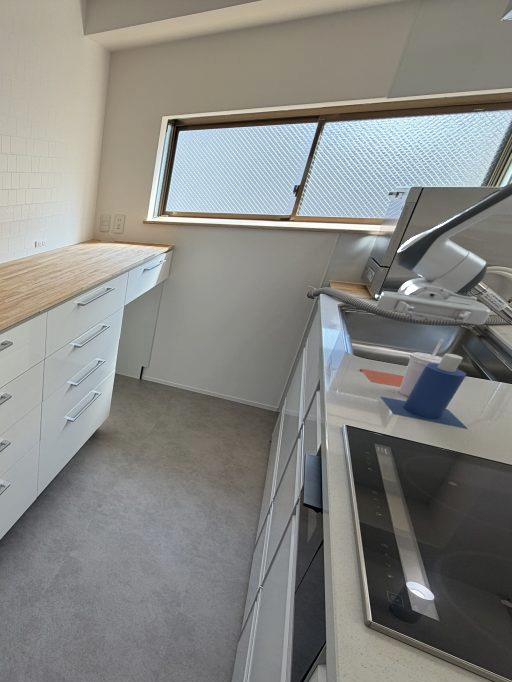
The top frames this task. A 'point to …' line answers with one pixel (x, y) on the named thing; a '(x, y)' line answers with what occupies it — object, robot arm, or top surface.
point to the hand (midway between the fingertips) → (435, 314)
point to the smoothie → (417, 368)
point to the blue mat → (398, 409)
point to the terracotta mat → (383, 377)
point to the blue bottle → (435, 387)
